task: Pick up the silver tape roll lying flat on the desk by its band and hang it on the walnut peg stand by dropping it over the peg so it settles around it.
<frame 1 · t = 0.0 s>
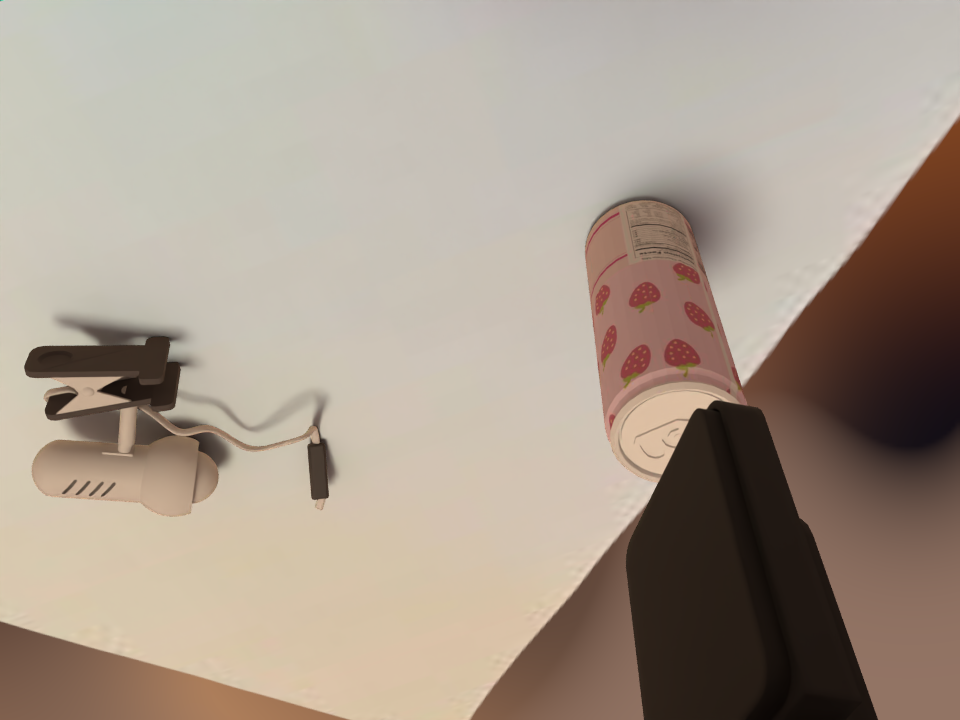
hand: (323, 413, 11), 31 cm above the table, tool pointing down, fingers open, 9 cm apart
clip-on lamp: (203, 411, 53), on the table
beverage can: (638, 243, 44), on the table
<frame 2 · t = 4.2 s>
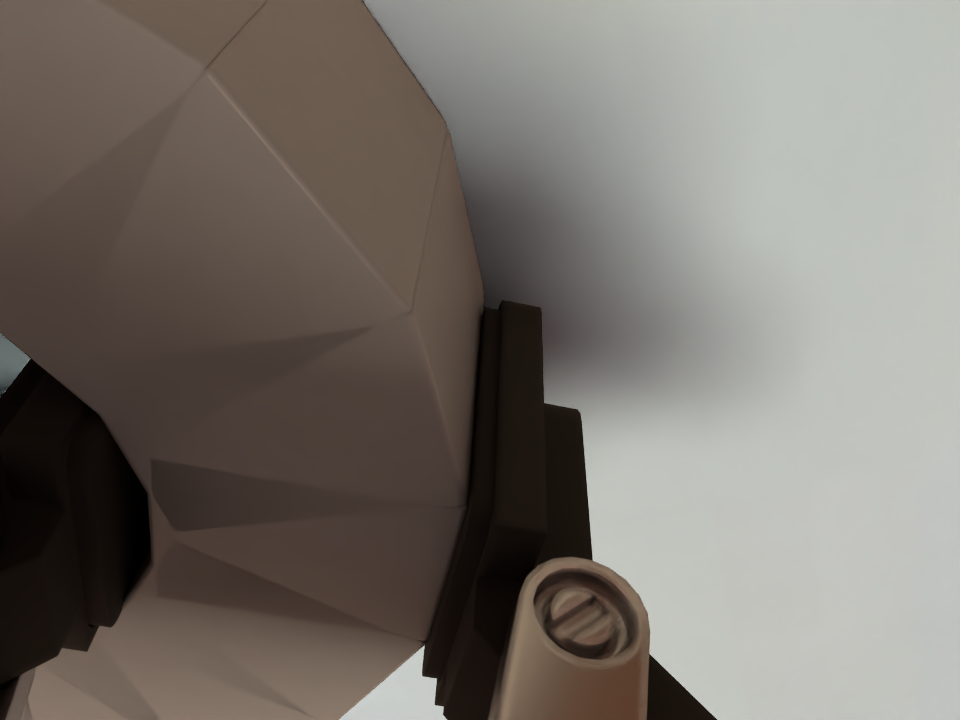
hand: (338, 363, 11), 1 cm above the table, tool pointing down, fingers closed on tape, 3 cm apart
tape: (46, 275, 12), on the table, touching gripper
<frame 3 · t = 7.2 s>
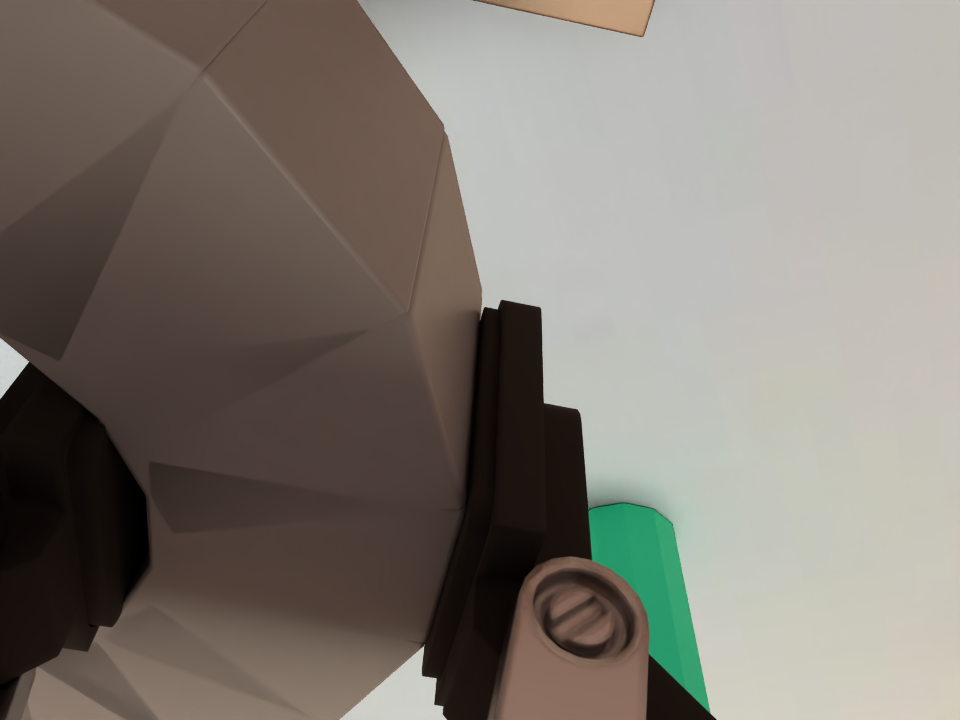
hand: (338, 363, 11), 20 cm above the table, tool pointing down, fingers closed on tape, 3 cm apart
tape: (45, 277, 12), point 19 cm above the table, touching gripper
candle: (618, 539, 43), on the table
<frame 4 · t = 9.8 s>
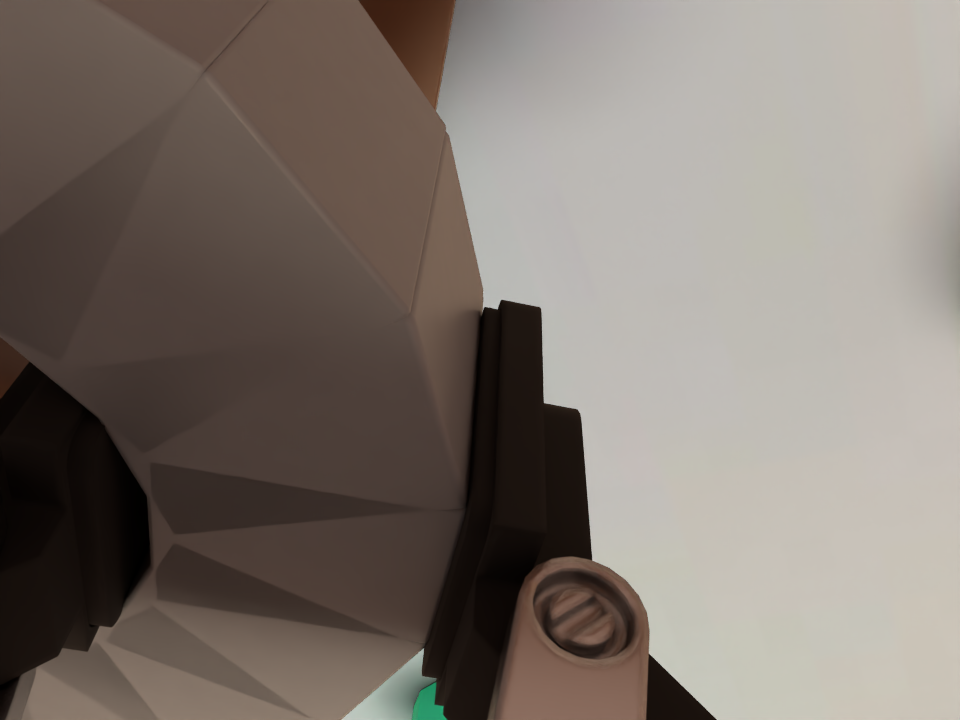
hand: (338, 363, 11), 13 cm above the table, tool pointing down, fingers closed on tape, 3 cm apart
tape: (45, 278, 12), point 12 cm above the table, touching gripper
rack: (248, 25, 21), on the table
candle: (475, 705, 40), on the table
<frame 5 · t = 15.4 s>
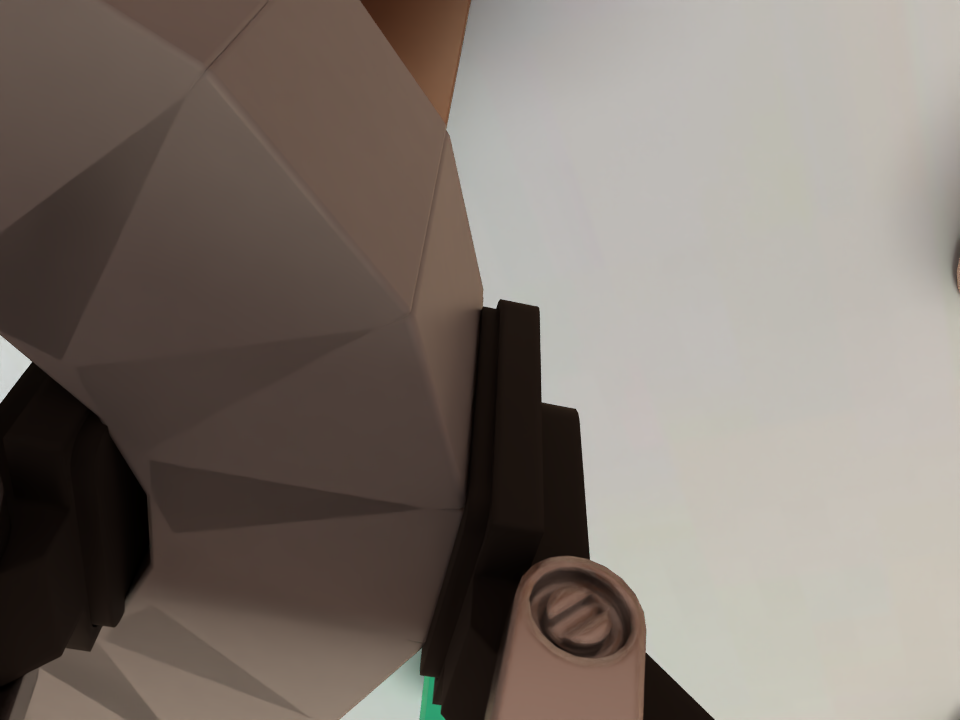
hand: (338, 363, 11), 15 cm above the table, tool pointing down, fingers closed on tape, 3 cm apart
tape: (45, 276, 12), point 14 cm above the table, touching gripper
rack: (281, 2, 22), on the table
candle: (484, 668, 42), on the table
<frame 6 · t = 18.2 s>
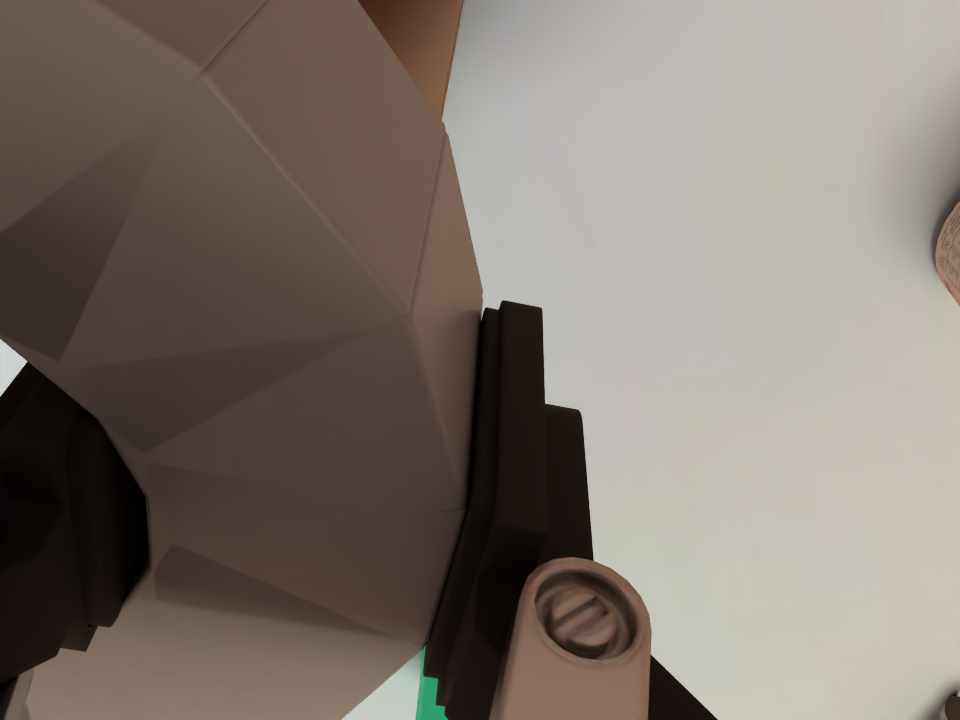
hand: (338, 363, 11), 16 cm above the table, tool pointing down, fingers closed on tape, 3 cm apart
tape: (45, 278, 12), point 15 cm above the table, touching gripper
candle: (481, 649, 43), on the table
when the fingers open (15 cm above the table, at t = 20.4 s): tape drops 13 cm, resting on rack.
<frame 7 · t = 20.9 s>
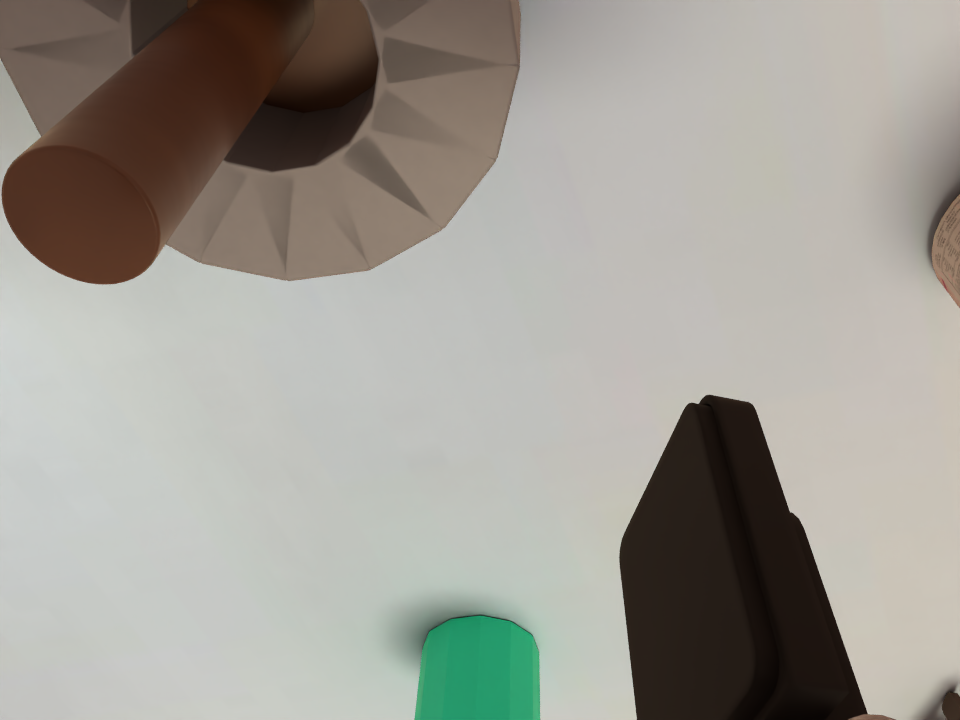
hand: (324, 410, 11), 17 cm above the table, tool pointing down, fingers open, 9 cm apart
tape: (293, 8, 22), point 1 cm above the table, touching rack
candle: (480, 647, 43), on the table
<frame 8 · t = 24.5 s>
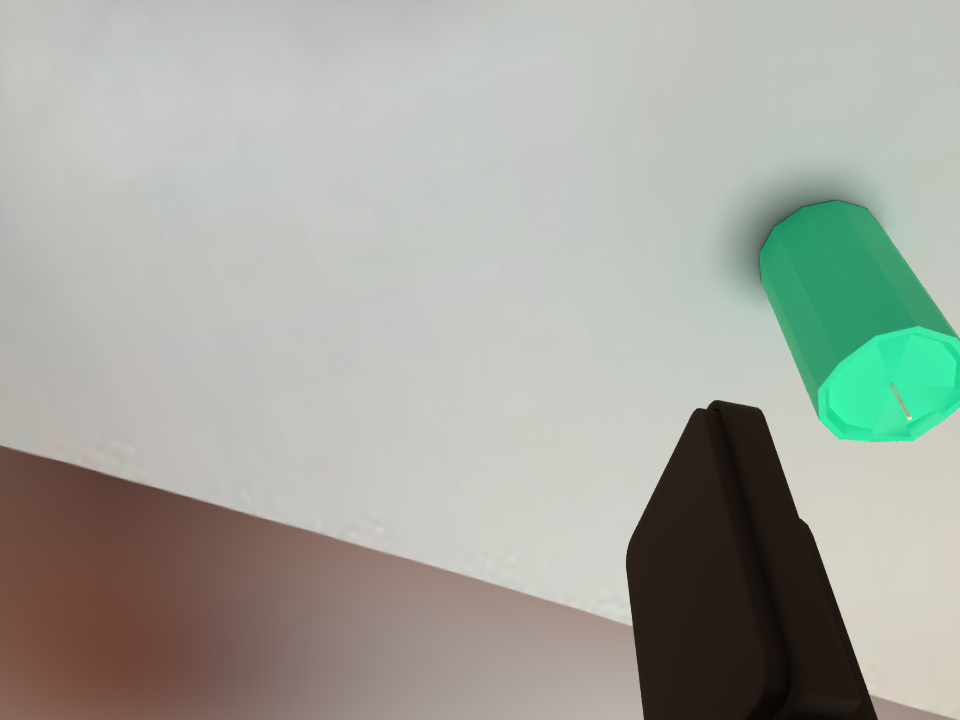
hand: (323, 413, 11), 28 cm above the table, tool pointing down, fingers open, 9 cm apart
candle: (819, 253, 41), on the table
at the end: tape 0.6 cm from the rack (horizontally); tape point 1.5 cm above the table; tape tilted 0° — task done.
